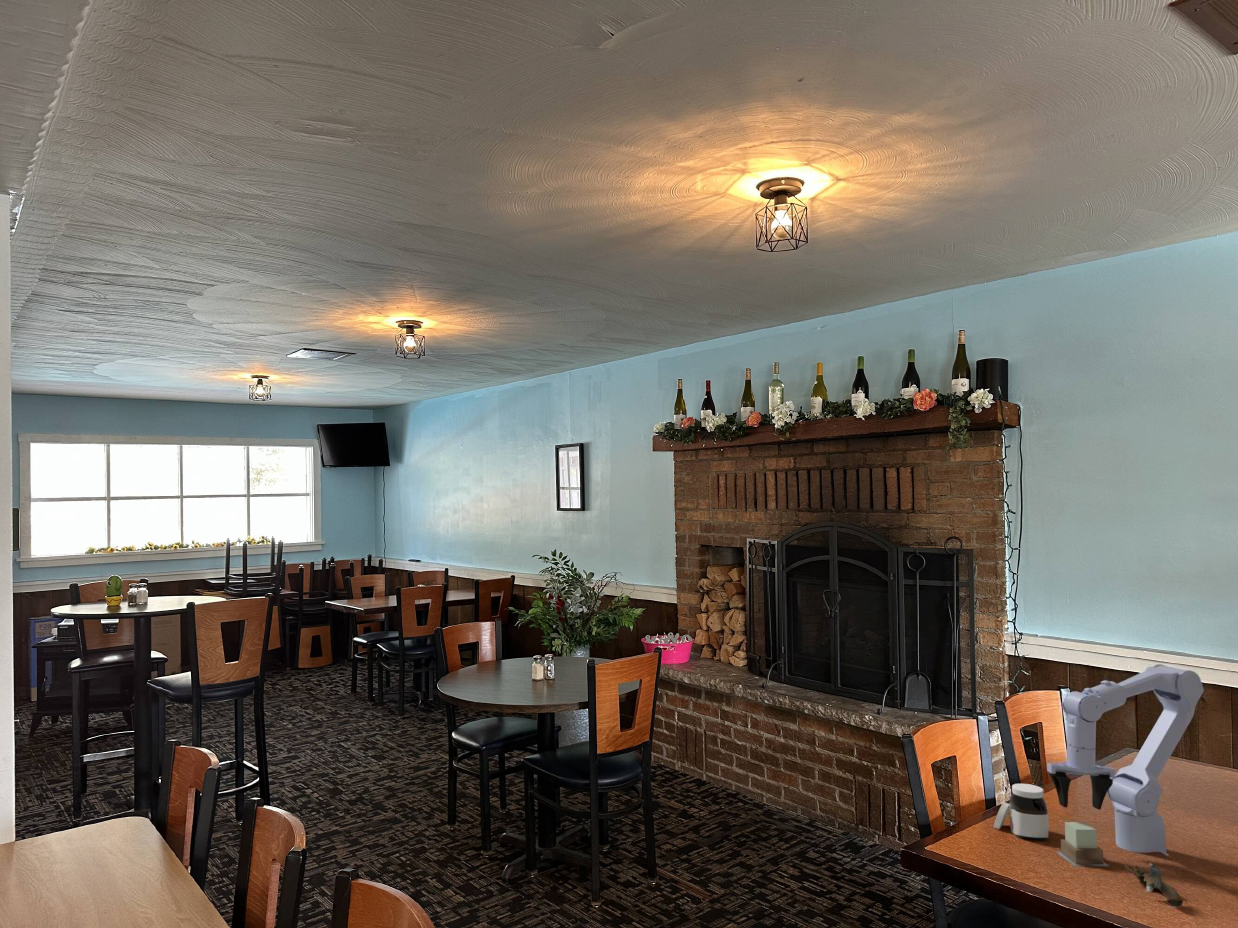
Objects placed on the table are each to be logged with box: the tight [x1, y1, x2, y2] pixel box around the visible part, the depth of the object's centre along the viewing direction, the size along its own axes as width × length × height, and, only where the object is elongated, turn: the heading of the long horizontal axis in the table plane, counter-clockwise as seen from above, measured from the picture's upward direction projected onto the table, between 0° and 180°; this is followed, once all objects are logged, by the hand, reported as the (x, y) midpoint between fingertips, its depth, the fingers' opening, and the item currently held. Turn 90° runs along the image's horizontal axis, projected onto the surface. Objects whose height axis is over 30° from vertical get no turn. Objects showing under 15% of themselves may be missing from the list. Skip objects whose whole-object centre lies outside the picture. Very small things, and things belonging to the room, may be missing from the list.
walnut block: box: [1060, 838, 1104, 864], centre depth 183 cm, size 6×6×3 cm
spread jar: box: [993, 783, 1049, 842], centre depth 199 cm, size 12×11×12 cm
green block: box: [1064, 821, 1098, 848], centre depth 183 cm, size 4×4×4 cm
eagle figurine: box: [1124, 862, 1184, 908], centre depth 167 cm, size 8×7×9 cm
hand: (1080, 806), depth 188 cm, fingers open, 7 cm apart
